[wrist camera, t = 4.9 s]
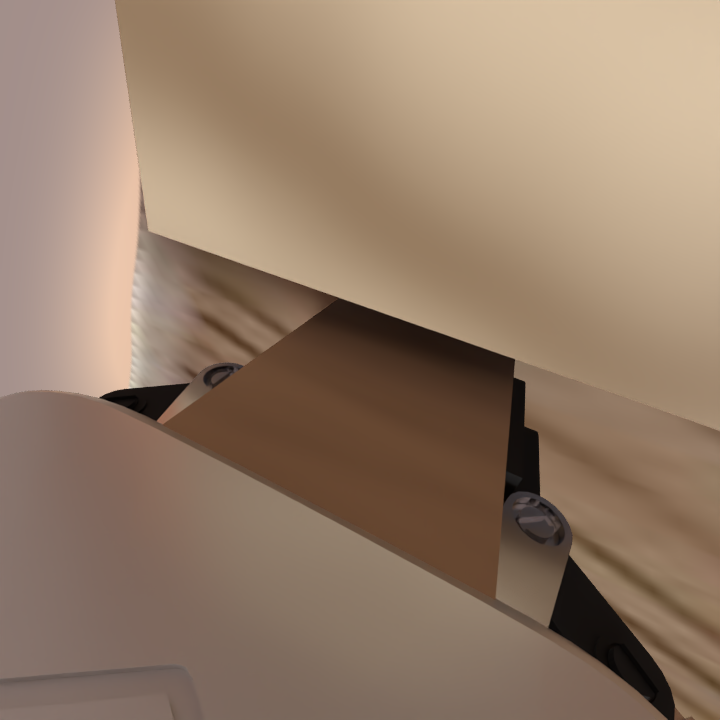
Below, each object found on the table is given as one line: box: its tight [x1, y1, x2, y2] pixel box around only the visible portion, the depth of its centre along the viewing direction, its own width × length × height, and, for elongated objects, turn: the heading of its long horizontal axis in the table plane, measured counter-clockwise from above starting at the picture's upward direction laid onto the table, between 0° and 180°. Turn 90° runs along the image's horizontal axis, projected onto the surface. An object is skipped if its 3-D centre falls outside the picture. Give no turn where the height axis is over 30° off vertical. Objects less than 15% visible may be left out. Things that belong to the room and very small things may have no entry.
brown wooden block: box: [162, 298, 515, 600], centre depth 9 cm, size 5×5×16 cm
